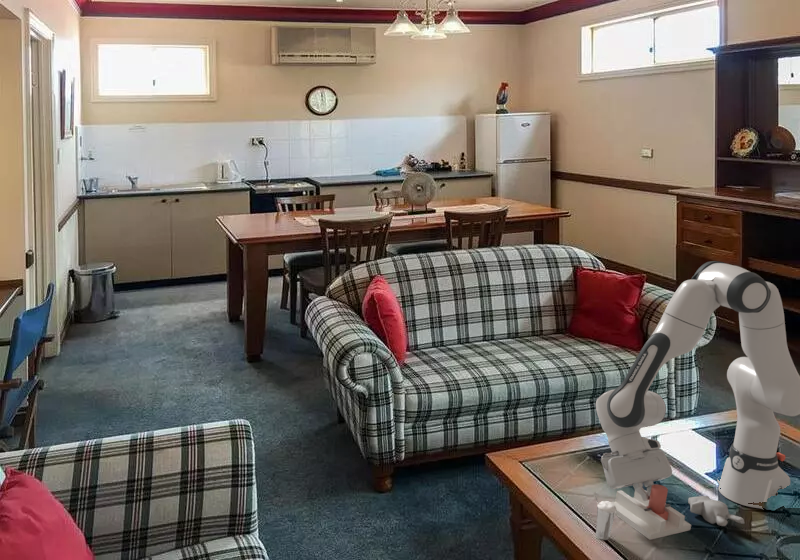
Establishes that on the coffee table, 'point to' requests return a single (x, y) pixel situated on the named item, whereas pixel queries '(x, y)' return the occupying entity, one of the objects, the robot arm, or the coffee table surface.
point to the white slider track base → (648, 516)
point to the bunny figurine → (712, 510)
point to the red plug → (658, 500)
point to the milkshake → (604, 519)
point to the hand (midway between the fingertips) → (649, 499)
